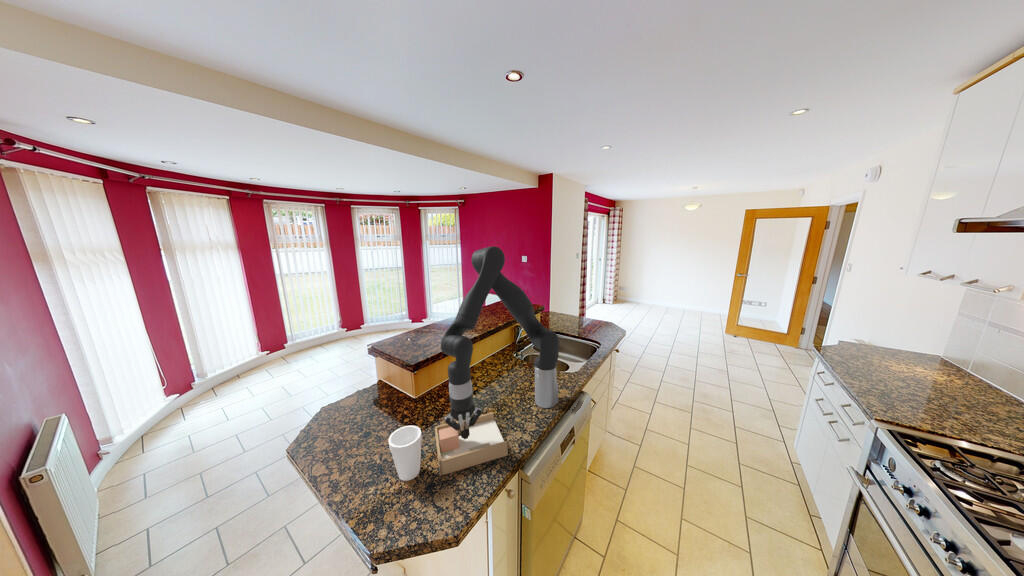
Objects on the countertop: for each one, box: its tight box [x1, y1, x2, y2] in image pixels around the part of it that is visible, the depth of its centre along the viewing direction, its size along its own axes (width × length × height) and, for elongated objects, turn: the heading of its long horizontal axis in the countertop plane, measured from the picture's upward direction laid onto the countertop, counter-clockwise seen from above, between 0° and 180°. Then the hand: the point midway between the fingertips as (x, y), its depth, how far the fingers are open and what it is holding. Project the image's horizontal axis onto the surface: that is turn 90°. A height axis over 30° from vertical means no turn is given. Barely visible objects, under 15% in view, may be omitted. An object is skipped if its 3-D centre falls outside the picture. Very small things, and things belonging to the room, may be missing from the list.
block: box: [439, 427, 460, 453], centre depth 94 cm, size 6×5×5 cm
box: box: [434, 412, 509, 477], centre depth 97 cm, size 22×17×5 cm
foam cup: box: [387, 425, 423, 482], centre depth 86 cm, size 10×9×13 cm
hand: (465, 437), depth 96 cm, fingers closed
